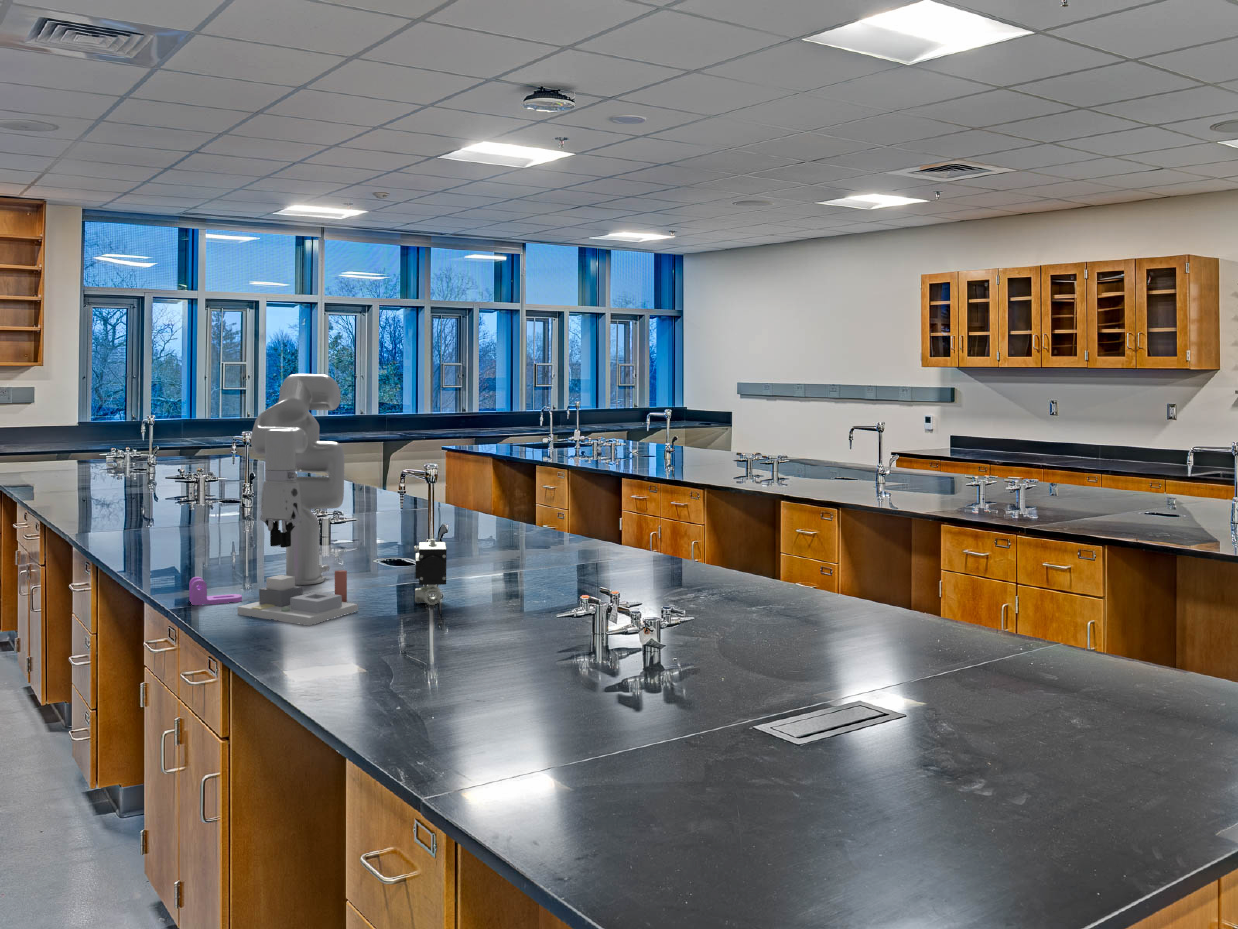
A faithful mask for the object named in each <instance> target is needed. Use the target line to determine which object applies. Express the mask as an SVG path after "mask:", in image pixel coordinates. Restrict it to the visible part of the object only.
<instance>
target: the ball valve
mask: <svg viewBox="0 0 1238 929" xmlns="http://www.w3.org/2000/svg"><path fill="white" fill-rule="evenodd" d="M435 540H436V539H434V538H430V541H419V543H418V545H414V546H413V547H414V548H413V549H414V550H413V551H414V552H415V572H414V573H415V580H418V585H419V586H420V587H419V588H414V601H415V603H420V602H425V603H428V604H429V605H428V604H427V605H428V606H430V605H434V606H436V605H435V604H437V603H438V604H439V603H440V602H441V598H442V596H441V595H442V592H441V588H440V587H439V586H441V585H442V586H443V585H445V586H446V585H447V544H446V541H435ZM438 604H437V605H438Z"/></svg>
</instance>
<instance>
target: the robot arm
mask: <svg viewBox="0 0 1238 929" xmlns="http://www.w3.org/2000/svg"><path fill="white" fill-rule="evenodd" d="M340 402H341V391H340V387H339V385H338V383H337V382H336V381H335V379H334V378H333V377H331V376H330V375H327V374H324V373H322V374H319V373H318V374H317V373H316V374H314V373H295V374H290V375H288V376H286V378H285V379H284V380H283V383H282V384H281V385H280V388H279V398H278V401H277V402H276V403H275V404H273V405H272V406H270V407H268V408H267V409H265V410H263V411H262V412H260V413H259V414H258V415H257V417H256V419H255V421H254V424H253V428H252V432H251V435H250V436H251V437H250V443H251V444H250V445H251V449H252V450H253V451H254V453H255V454H258V455H262V456H264V481H263V484H262V485H263V486H262V492H261V499H260V502H261V504H260V505H261V506H260V507H261V508H260V509H261V510H260V511H261V515H260V520H261V522H263V523H265V525H266V527H267V530H268V531H269V534H270V536H269V538H270V539H269V540H270V541H269V543H270V544H269V545H270V547H278V546H279V547H280V548H285V555H286V557H285V559H286V560H285V563H286V564H285V570H286V573H285V575H286V576H293V577H295V586H309V585H315V584H321V583H323V582H325V578H326V577H325V576H324V575H322V573H324V572H328V571H330V565H328V564H324V565H322V564H320V524H319V520H318V518H317V517H316V515H315V514H314V513H313V512H312V510H317V509H320V510H323V509H326V510H327V509H329V510H330V509H338V508H340V507H341V506H342V504H343V502H344V494H345V452H344V448H343V446H342V444H340V443H339V442H337V441H329V440H327V441H325V440H320V430H321V429H320V424H319V422H318V421H317V419H316V418H315V417H314V415H313V414H312V413H311V412H310V411H334V410H337V408H339V405H340ZM298 473H311V474H312V473H314V474H315V473H316V474H317V473H323V474H326V475H328V476H298ZM280 521H281V529H280Z"/></svg>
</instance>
